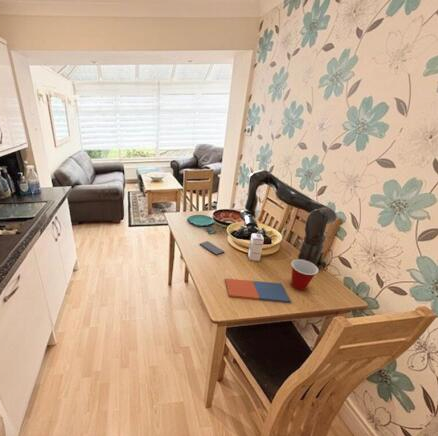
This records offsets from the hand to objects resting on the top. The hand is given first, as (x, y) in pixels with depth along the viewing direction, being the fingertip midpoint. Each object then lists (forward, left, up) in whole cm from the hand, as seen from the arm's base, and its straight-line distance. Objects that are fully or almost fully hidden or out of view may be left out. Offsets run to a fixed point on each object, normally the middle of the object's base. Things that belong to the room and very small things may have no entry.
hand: (254, 235), depth 142 cm
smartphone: (+24, +2, -10) cm, 26 cm away
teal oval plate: (+26, -33, -10) cm, 43 cm away
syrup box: (+1, +9, -10) cm, 13 cm away
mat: (+7, +38, -10) cm, 40 cm away
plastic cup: (-14, +32, -10) cm, 36 cm away
